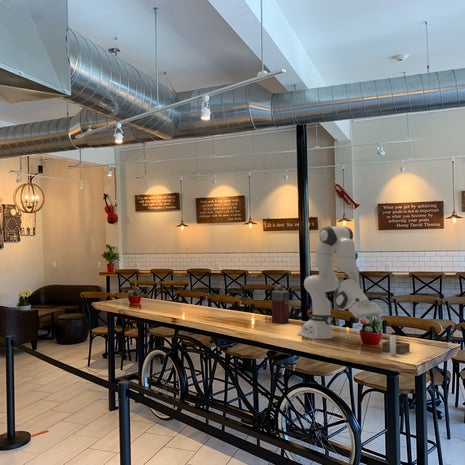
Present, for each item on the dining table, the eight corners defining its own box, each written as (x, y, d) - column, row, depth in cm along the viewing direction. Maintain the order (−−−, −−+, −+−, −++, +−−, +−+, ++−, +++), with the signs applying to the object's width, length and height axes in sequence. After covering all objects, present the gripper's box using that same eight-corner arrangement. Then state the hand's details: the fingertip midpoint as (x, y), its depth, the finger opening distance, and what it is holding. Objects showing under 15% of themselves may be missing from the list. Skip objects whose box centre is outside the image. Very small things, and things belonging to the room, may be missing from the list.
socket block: (382, 350, 246) (382, 342, 246) (390, 348, 253) (390, 340, 253) (401, 354, 238) (401, 346, 238) (409, 351, 245) (409, 343, 245)
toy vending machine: (284, 324, 322) (284, 285, 322) (271, 322, 329) (271, 284, 330) (291, 323, 328) (291, 284, 329) (278, 321, 336) (278, 283, 336)
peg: (388, 355, 236) (388, 336, 236) (391, 354, 238) (391, 335, 238) (394, 356, 234) (394, 337, 234) (396, 355, 236) (396, 336, 236)
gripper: (370, 304, 262) (383, 323, 254) (345, 306, 251) (358, 327, 243) (376, 297, 259) (390, 316, 250) (351, 299, 248) (365, 320, 239)
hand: (374, 322), depth 246 cm, fingers open, 8 cm apart
